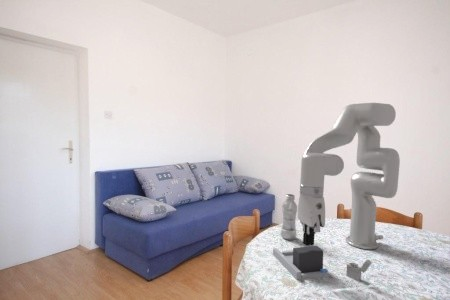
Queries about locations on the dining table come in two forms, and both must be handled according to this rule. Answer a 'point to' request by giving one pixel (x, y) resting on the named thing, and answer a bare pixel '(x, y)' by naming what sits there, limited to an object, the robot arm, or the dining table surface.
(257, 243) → the dining table surface
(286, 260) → the grey tray
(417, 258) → the dining table surface
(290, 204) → the plastic bottle
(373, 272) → the dining table surface
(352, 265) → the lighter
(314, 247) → the dark gray block
